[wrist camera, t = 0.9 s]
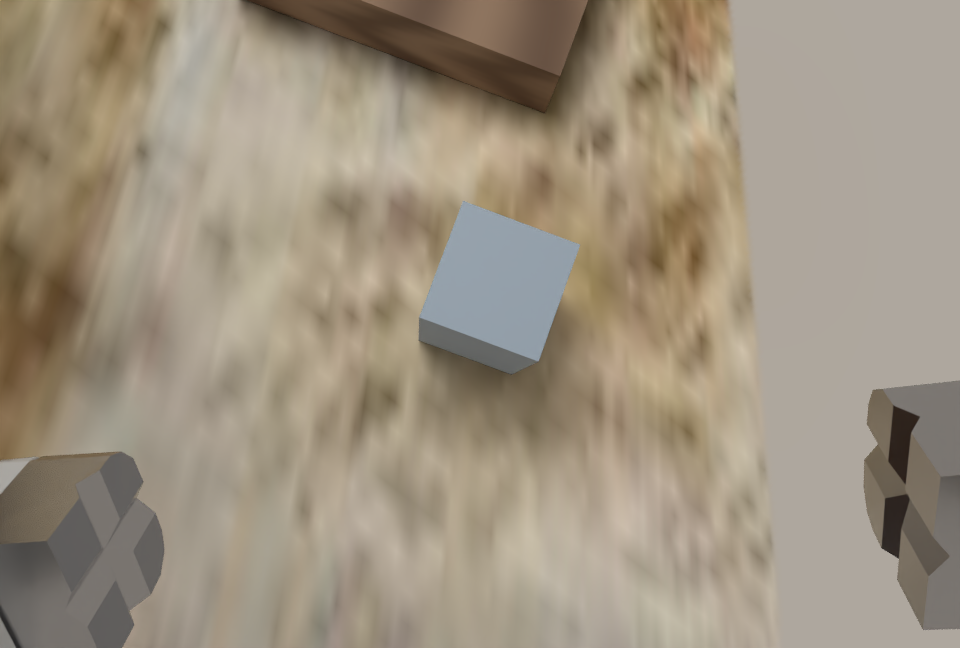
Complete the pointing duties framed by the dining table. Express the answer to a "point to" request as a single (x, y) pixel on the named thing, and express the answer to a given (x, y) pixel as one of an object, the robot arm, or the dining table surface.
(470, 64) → the dock
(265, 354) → the dining table surface
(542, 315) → the blue-grey rectangular block
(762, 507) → the dining table surface
